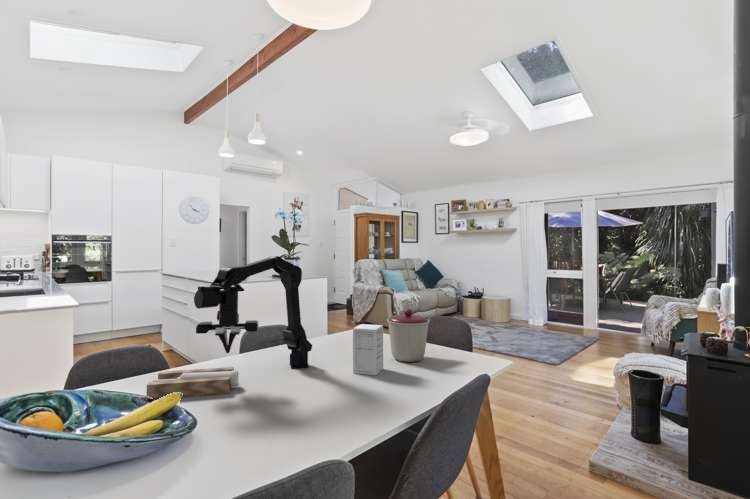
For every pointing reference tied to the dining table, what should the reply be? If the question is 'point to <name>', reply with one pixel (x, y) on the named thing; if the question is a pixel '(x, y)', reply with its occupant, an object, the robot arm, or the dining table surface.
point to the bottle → (208, 376)
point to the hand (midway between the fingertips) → (227, 352)
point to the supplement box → (368, 349)
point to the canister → (408, 336)
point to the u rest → (189, 384)
